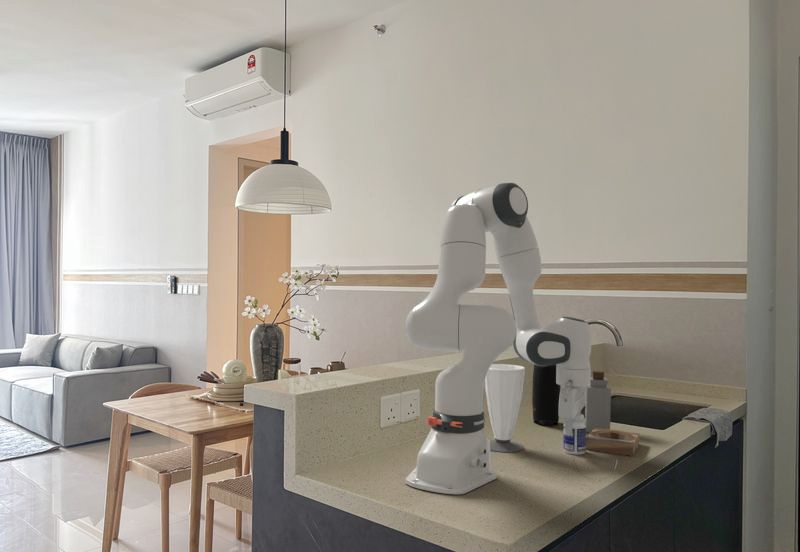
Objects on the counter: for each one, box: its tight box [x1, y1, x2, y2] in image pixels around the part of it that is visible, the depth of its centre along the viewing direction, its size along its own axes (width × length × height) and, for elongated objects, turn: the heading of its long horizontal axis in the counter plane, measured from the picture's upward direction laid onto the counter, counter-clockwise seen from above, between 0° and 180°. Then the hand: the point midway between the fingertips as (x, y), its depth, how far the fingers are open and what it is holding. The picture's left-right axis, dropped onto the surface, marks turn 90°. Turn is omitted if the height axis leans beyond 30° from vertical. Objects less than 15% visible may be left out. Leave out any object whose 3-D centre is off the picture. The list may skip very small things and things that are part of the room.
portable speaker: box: [531, 364, 561, 427], centre depth 191 cm, size 9×9×20 cm
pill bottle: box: [562, 413, 587, 456], centre depth 159 cm, size 6×6×10 cm
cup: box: [484, 363, 526, 454], centre depth 163 cm, size 12×12×22 cm
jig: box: [586, 428, 640, 457], centre depth 165 cm, size 14×12×3 cm
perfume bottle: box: [584, 369, 612, 434], centre depth 183 cm, size 7×7×18 cm
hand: (572, 429), depth 160 cm, fingers open, 8 cm apart
